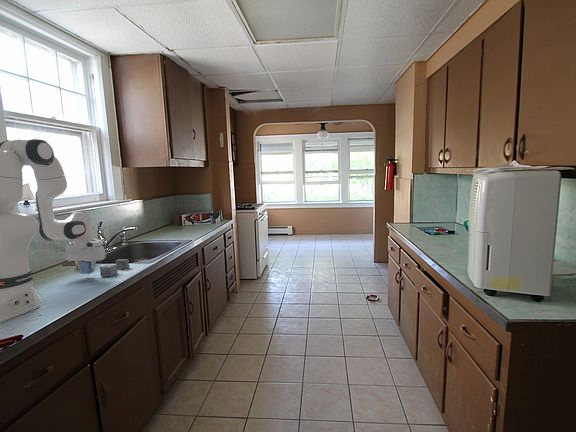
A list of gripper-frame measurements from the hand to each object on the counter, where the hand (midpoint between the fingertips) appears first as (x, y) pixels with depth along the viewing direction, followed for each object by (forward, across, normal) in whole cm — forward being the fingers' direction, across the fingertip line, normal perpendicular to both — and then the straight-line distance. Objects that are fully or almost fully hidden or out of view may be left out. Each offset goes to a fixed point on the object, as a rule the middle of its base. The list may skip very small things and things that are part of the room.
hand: (86, 268), depth 166 cm
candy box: (+5, -18, +20) cm, 27 cm away
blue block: (+2, 0, 0) cm, 2 cm away
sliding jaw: (+5, +9, +4) cm, 11 cm away
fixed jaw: (+4, +9, +16) cm, 19 cm away
